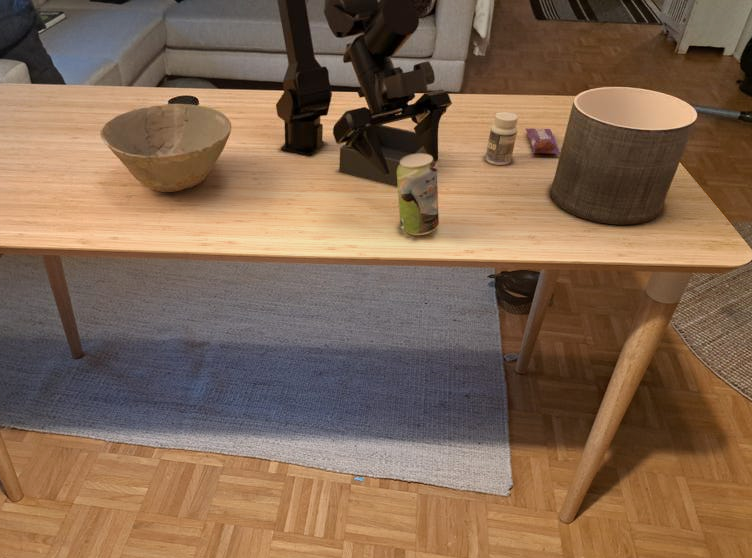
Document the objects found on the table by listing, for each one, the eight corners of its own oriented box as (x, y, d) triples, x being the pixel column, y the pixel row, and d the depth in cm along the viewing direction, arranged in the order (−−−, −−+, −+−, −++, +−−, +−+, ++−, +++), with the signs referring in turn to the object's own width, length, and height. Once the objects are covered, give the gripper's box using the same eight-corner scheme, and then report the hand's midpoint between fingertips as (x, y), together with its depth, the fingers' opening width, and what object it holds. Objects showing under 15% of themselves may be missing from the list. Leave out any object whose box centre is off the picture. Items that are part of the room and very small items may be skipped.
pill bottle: (481, 155, 129) (489, 111, 124) (506, 154, 130) (515, 110, 124) (489, 166, 126) (497, 121, 120) (514, 164, 126) (524, 120, 120)
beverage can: (436, 241, 106) (447, 169, 98) (389, 237, 107) (396, 165, 99) (438, 221, 111) (448, 151, 103) (392, 217, 112) (399, 147, 104)
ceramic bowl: (182, 144, 135) (176, 94, 129) (261, 180, 123) (258, 126, 116) (86, 181, 124) (73, 127, 117) (161, 225, 111) (152, 168, 105)
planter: (673, 229, 108) (713, 132, 97) (557, 222, 110) (583, 126, 100) (647, 179, 121) (679, 89, 110) (544, 173, 123) (566, 84, 113)
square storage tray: (339, 171, 125) (339, 147, 122) (371, 145, 133) (372, 122, 130) (405, 188, 120) (407, 163, 117) (434, 160, 128) (437, 136, 125)
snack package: (526, 123, 136) (551, 124, 135) (523, 133, 137) (549, 134, 136) (534, 147, 127) (562, 148, 126) (532, 157, 128) (559, 158, 128)
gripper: (345, 54, 94) (385, 159, 93) (452, 33, 100) (490, 131, 100) (316, 94, 104) (352, 189, 104) (415, 73, 111) (449, 162, 110)
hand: (411, 168), depth 104 cm, fingers open, 9 cm apart
